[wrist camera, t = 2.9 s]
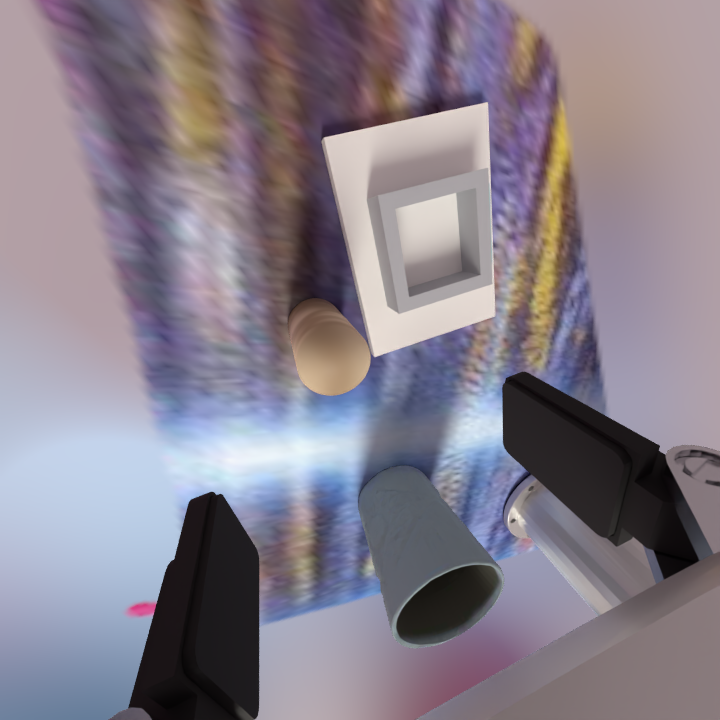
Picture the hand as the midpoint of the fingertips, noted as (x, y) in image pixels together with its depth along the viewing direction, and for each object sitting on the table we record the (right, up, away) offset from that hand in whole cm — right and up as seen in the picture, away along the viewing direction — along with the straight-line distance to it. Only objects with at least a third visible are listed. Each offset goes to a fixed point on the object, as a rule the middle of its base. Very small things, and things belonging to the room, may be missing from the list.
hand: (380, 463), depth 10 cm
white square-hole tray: (+4, +13, +15) cm, 20 cm away
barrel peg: (-4, +6, +15) cm, 17 cm away
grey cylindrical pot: (+3, -12, +26) cm, 29 cm away
